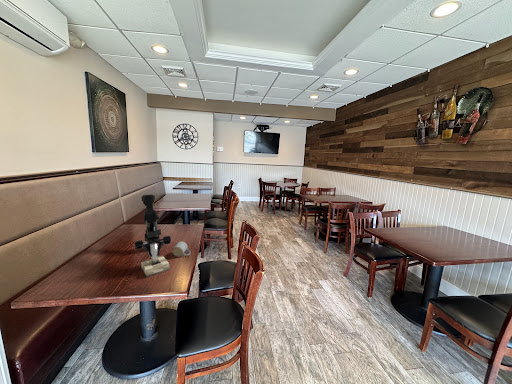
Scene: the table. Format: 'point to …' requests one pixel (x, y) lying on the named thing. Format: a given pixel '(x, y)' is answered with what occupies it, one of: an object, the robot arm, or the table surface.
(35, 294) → the table surface
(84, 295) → the table surface
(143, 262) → the socket block
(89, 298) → the table surface
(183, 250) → the ceramic mug
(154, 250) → the steel pin
